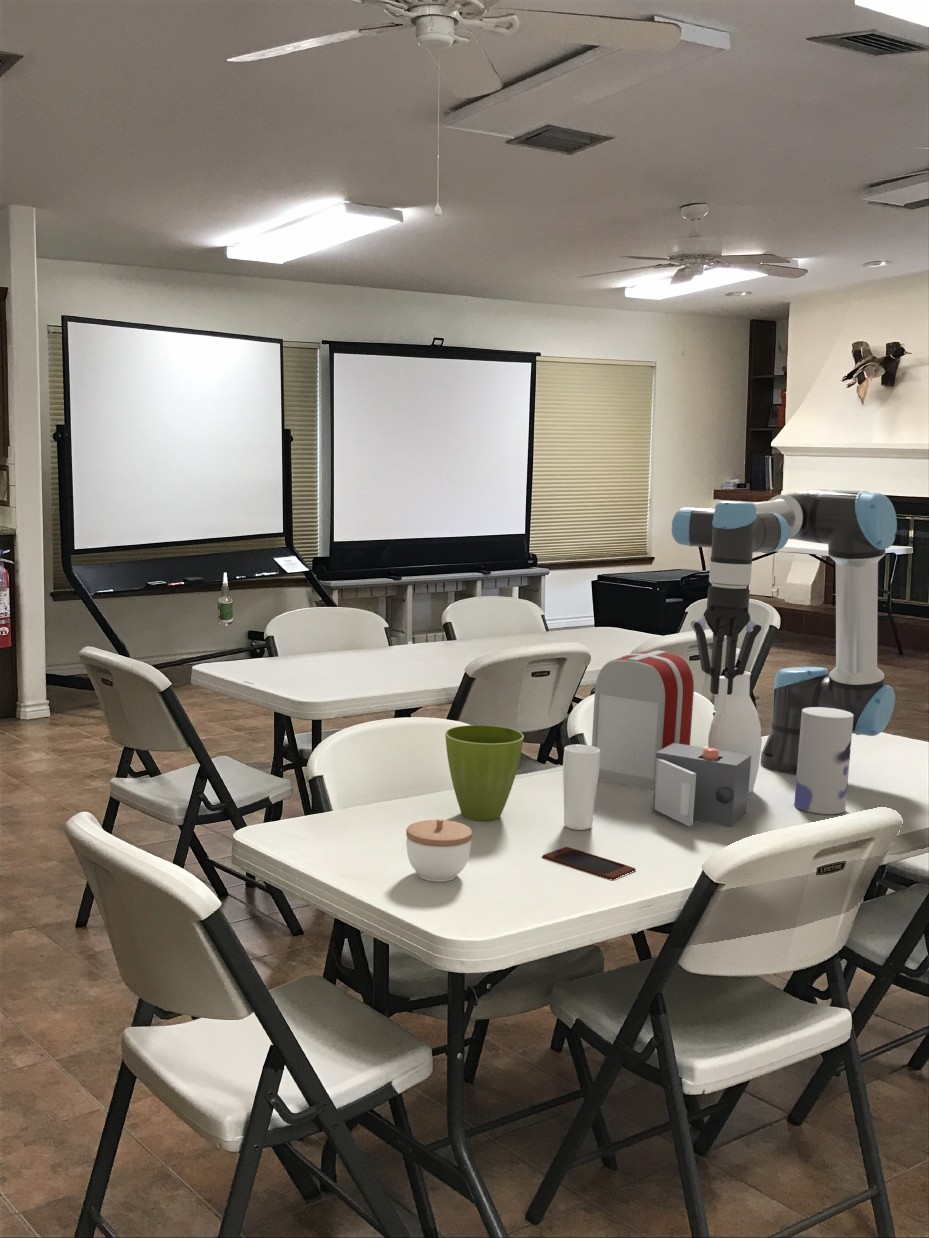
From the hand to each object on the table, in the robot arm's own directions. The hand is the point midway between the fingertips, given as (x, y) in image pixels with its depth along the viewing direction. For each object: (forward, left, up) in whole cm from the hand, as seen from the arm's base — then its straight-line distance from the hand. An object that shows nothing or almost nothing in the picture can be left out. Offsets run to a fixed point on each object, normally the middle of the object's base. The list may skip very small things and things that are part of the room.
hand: (719, 711), depth 222 cm
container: (-28, +14, -23) cm, 39 cm away
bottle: (-30, -5, -23) cm, 38 cm away
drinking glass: (+14, -21, -23) cm, 34 cm away
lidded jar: (+52, -29, -23) cm, 64 cm away
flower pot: (+19, -39, -23) cm, 49 cm away
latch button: (-7, -3, -12) cm, 14 cm away
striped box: (-28, -25, -23) cm, 44 cm away
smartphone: (+32, -11, -23) cm, 41 cm away
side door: (0, -8, -22) cm, 23 cm away
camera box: (-9, -5, -23) cm, 25 cm away
